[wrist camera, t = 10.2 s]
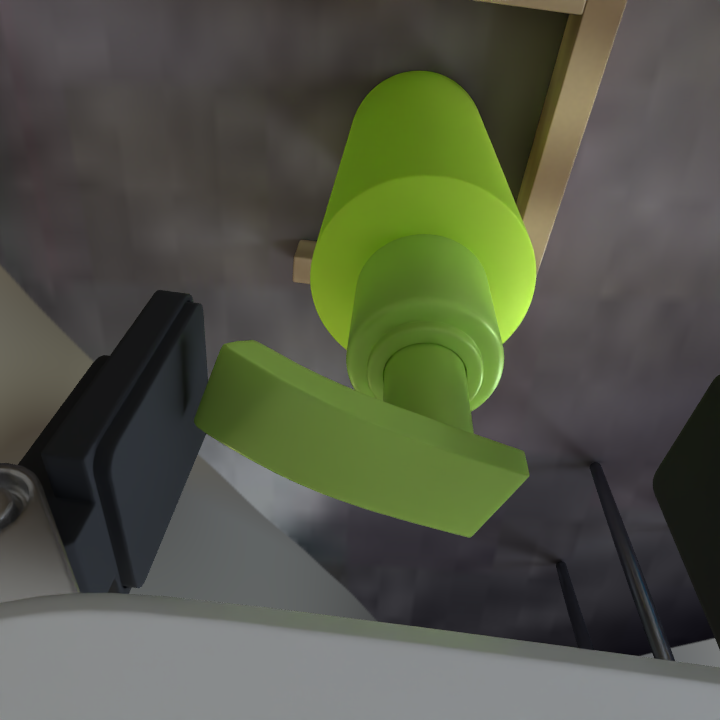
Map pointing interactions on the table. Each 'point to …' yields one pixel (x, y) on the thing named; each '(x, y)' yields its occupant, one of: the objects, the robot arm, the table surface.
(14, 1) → the table surface
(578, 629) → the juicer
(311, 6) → the table surface
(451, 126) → the soap dispenser
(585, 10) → the holder
